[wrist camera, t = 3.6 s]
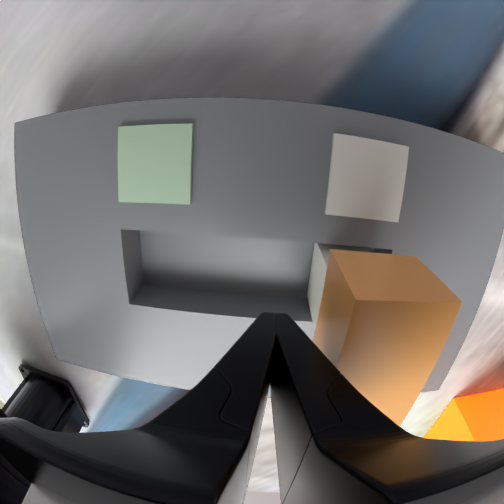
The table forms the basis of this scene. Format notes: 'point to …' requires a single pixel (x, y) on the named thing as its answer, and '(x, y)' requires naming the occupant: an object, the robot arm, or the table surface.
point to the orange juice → (471, 418)
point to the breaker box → (234, 221)
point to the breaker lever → (379, 321)
